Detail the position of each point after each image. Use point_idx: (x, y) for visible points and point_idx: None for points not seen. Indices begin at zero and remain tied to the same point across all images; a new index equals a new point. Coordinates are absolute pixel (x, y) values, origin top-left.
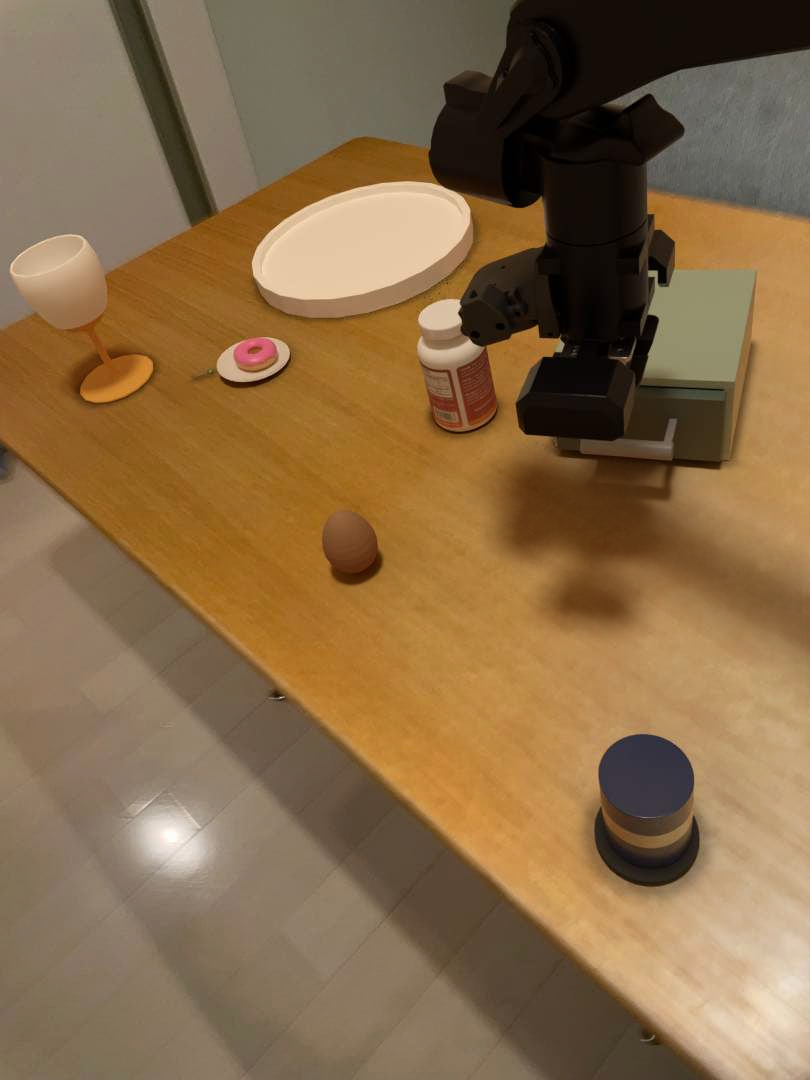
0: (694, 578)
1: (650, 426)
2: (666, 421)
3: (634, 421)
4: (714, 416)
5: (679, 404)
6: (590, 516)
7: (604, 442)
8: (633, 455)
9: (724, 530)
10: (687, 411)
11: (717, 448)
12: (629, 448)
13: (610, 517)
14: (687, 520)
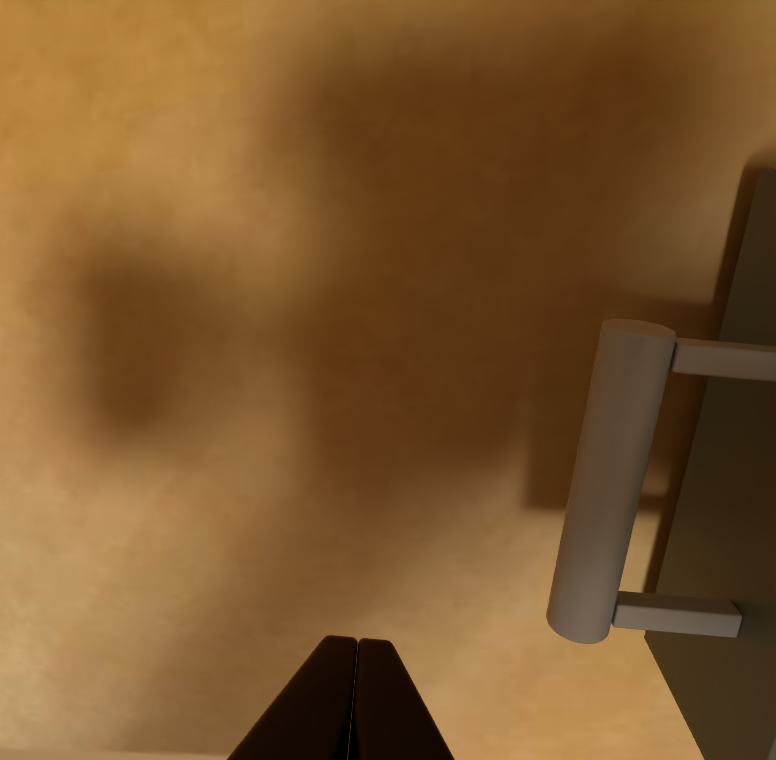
0: (257, 574)
1: (739, 535)
2: (739, 597)
3: (762, 494)
4: (715, 751)
5: (768, 690)
6: (456, 309)
7: (617, 426)
8: (567, 508)
9: (418, 629)
10: (745, 691)
11: (662, 663)
12: (583, 509)
13: (453, 366)
14: (449, 553)
